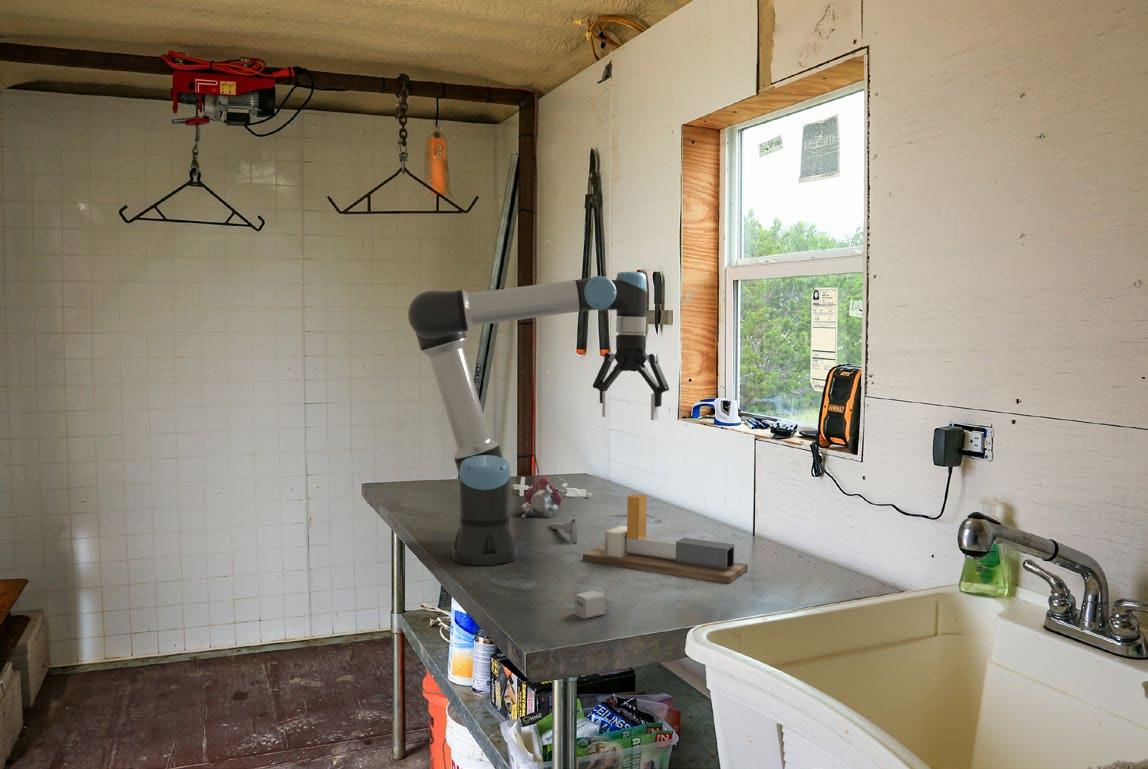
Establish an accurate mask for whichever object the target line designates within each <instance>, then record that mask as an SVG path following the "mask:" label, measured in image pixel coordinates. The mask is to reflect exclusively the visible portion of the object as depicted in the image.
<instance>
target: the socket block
mask: <svg viewBox="0 0 1148 769" xmlns="http://www.w3.org/2000/svg"><path fill="white" fill-rule="evenodd" d="M626 535H627V525H617V526H615V527H613V528H610V529H608V530H606V531H604V544H605V555H610V556H616V557H623V556H625V555H627V554H629V552H625V536H626Z"/></svg>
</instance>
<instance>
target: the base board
mask: <svg viewBox="0 0 1148 769" xmlns="http://www.w3.org/2000/svg"><path fill="white" fill-rule="evenodd" d="M582 561H583V562H591V563H596V564H603V565H609V566H614V567H615V566H617V567H621V568H627V569H634V570H635V569H636V570H642V571H648V572H653V571H654V572H655V573H659V572H660V573H661V574H666V573H667V575H672V574H673V575H672V576H678V575H679V577H685V578H686V577H687V578H693V579H698V580H705V581H710V582H711V581H712V582H717V583H724V584H731V583H732V582H733V581H735V580H736V579H738V578H739V577H740V576H742V575H743V574H745V573H746V572H748V571H749V570H748V567H749V566H748V563H742V562H736V561H734V567H732V568H731V569H729V570H728V571H719V570H713V569H706V568H699V567H693V566H686V565H680V564H676V559H670V558H663V557H656V556H649V555H643V554H636V553H629V554H627V555H625V556H623V557H616V556H610V555H605V543H604V544H602V545H600V546H598V547H596V548H593V549H592V550H591V549H590V550H588V551H587V552H585V553H583V554H582ZM660 573H659V574H660Z"/></svg>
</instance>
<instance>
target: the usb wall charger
mask: <svg viewBox="0 0 1148 769" xmlns="http://www.w3.org/2000/svg"><path fill="white" fill-rule="evenodd" d="M612 604H613V600H612V599H609V600H607V597H606V596H605V595H604V594H603V593H601V592H599V591H596V590H590V591H585V592H580V593H576V594H574V596H573V612H574V615H576V616H578V617H580V618H583V619H590V618H594V617H599V616H603V615H605V611H606V610H605V609H606V606H608V605H612Z"/></svg>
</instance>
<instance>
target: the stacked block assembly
mask: <svg viewBox="0 0 1148 769" xmlns="http://www.w3.org/2000/svg"><path fill="white" fill-rule="evenodd" d="M647 498H648V497H647V494H641V493H640V494H639V493H634V494H630V495H627V513H626V515H627V516H626V517H627V518H626V523H627V524H626V526H627V535H626V536H625V552H629V553H636V554H643V555H649V556H656V557H663V558H670V559H676V542H677V541H678V540H674V539H665V538H660V537H659V538H657V537H653V536H652V537H651V536H647V503H648V502H647Z"/></svg>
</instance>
